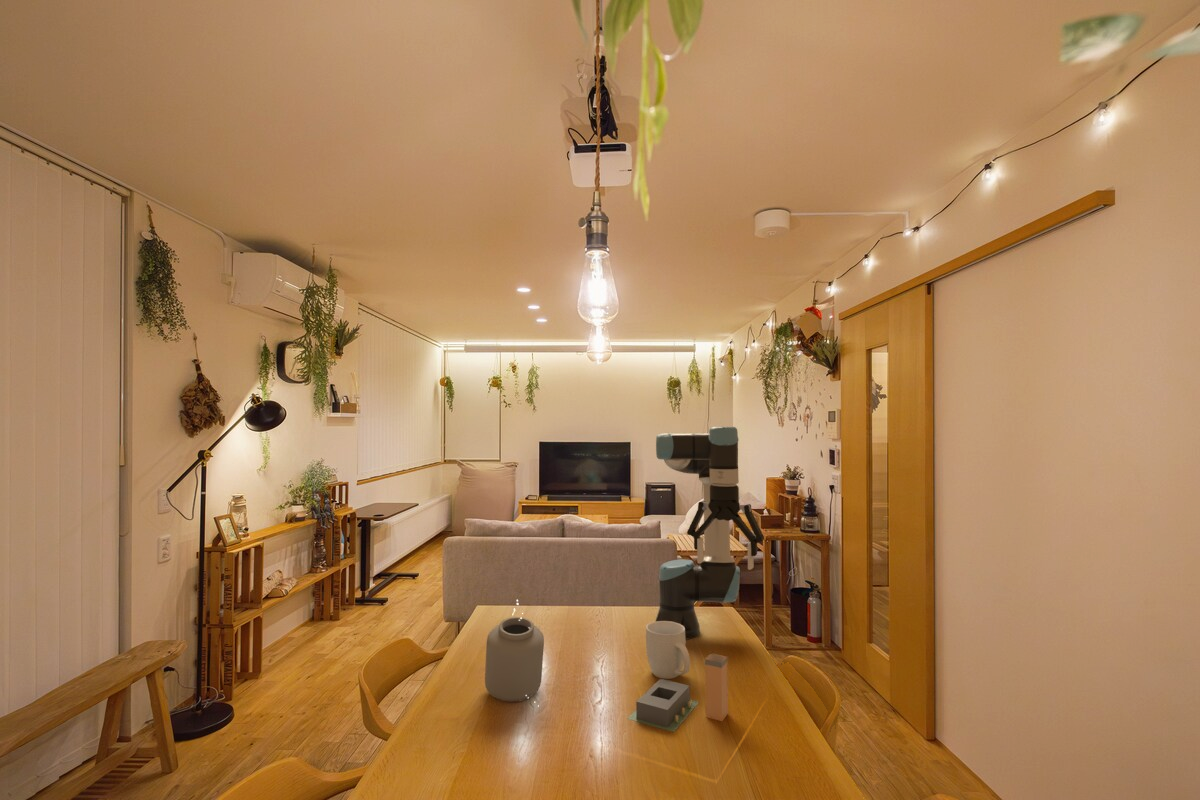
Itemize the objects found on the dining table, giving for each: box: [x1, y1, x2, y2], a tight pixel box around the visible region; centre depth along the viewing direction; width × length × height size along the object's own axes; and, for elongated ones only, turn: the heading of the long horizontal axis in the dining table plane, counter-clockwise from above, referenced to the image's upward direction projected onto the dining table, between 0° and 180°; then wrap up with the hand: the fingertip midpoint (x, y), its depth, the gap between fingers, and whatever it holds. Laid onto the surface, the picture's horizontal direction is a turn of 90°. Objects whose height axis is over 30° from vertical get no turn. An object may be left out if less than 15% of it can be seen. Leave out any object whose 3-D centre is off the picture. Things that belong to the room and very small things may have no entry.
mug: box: [645, 621, 691, 680], centre depth 159 cm, size 15×11×13 cm
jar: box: [484, 599, 545, 708], centre depth 149 cm, size 19×15×25 cm
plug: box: [704, 653, 729, 722], centre depth 138 cm, size 4×4×14 cm
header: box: [626, 678, 699, 733], centre depth 140 cm, size 16×12×4 cm
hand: (725, 565), depth 152 cm, fingers open, 13 cm apart
